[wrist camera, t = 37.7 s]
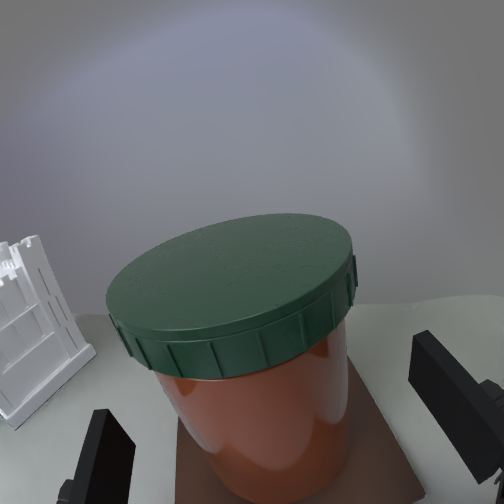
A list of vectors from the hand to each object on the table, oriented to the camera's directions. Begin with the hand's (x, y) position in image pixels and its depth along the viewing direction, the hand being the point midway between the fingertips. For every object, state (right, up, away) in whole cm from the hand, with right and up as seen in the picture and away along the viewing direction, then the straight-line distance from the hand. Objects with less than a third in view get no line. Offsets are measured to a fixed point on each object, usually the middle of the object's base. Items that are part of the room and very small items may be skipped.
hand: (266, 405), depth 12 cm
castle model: (-28, -9, +18) cm, 34 cm away
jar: (+1, -6, +6) cm, 8 cm away
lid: (-2, +6, +1) cm, 6 cm away
